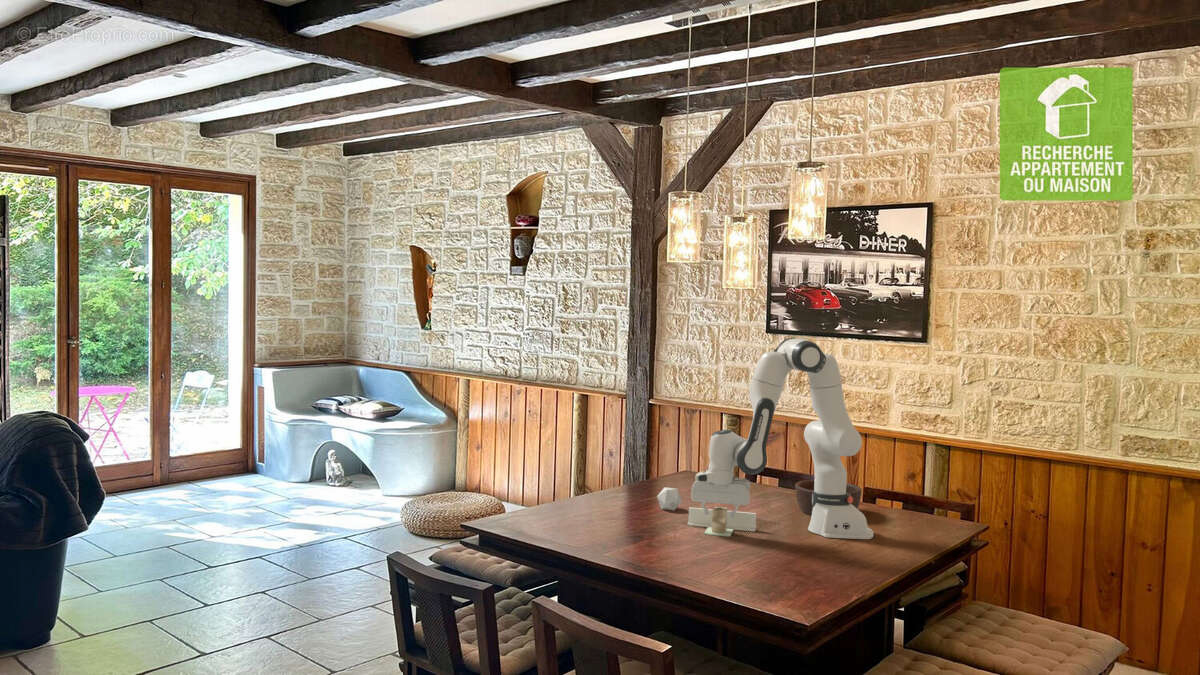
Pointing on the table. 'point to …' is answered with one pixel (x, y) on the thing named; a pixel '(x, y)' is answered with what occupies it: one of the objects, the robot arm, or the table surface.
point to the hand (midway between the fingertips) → (719, 515)
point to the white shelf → (738, 522)
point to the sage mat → (727, 533)
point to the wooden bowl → (806, 490)
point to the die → (669, 498)
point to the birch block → (719, 519)
